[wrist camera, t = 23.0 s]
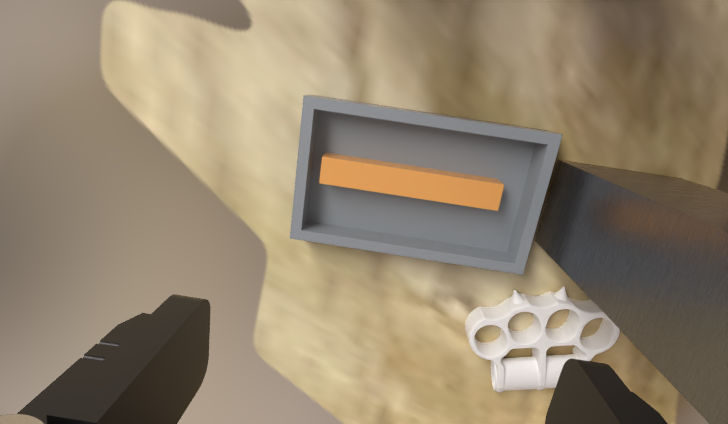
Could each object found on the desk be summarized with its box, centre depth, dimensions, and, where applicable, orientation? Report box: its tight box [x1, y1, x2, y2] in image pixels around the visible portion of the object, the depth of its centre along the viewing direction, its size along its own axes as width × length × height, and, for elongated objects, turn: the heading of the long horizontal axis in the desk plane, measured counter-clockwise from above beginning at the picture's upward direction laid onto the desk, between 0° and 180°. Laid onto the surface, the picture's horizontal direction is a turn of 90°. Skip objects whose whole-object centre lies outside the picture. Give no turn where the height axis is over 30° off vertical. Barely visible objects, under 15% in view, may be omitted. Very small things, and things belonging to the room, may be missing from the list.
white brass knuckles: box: [465, 286, 620, 392], centre depth 53 cm, size 3×18×15 cm
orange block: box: [319, 152, 504, 211], centre depth 47 cm, size 20×3×3 cm, turn 82°
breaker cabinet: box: [535, 160, 728, 424], centre depth 33 cm, size 14×11×32 cm
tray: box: [290, 95, 562, 275], centre depth 47 cm, size 27×16×4 cm, turn 82°
